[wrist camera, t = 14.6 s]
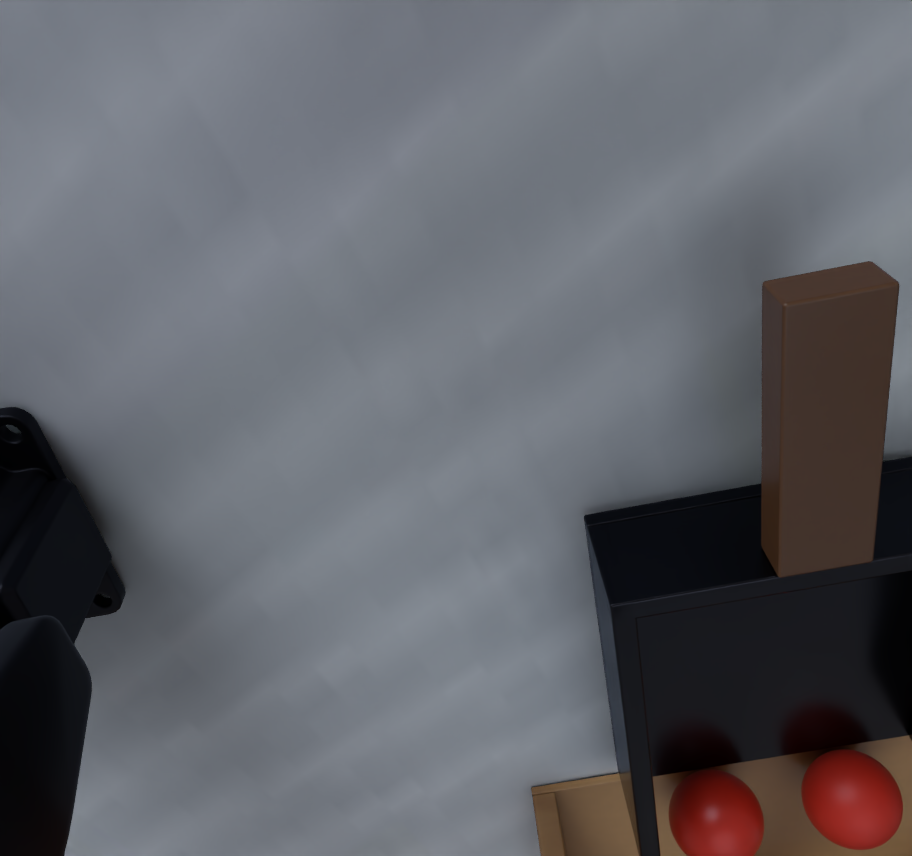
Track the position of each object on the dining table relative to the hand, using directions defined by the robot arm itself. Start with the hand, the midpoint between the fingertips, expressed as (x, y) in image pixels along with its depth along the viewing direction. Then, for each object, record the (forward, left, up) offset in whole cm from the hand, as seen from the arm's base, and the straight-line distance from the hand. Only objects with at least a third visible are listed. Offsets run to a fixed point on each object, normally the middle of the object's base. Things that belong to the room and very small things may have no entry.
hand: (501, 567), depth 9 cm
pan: (+7, -11, -12) cm, 17 cm away
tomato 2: (+9, -21, -10) cm, 25 cm away
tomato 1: (+5, -21, -10) cm, 24 cm away
